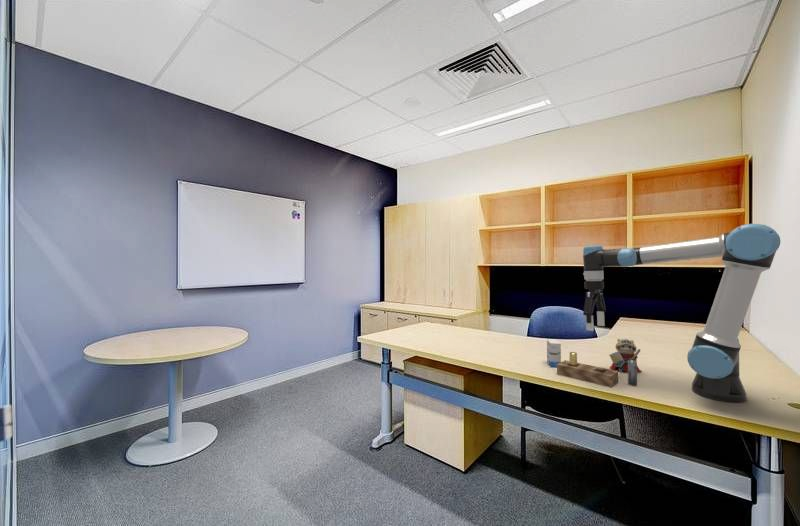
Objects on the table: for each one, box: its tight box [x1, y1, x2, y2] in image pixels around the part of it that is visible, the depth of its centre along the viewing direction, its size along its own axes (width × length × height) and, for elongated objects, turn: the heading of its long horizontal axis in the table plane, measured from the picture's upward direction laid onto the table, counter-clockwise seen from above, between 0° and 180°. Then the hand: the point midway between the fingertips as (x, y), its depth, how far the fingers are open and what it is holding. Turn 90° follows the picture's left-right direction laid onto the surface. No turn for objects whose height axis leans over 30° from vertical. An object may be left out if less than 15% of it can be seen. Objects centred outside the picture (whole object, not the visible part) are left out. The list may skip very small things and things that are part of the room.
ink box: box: [546, 339, 562, 368], centre depth 167 cm, size 8×5×12 cm, turn 168°
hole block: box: [556, 360, 619, 388], centre depth 148 cm, size 22×9×4 cm, turn 41°
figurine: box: [608, 338, 642, 373], centre depth 155 cm, size 13×11×15 cm
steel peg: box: [627, 359, 638, 387], centre depth 139 cm, size 3×3×10 cm
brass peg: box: [569, 351, 578, 367], centre depth 152 cm, size 3×3×10 cm
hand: (595, 328), depth 148 cm, fingers open, 13 cm apart
